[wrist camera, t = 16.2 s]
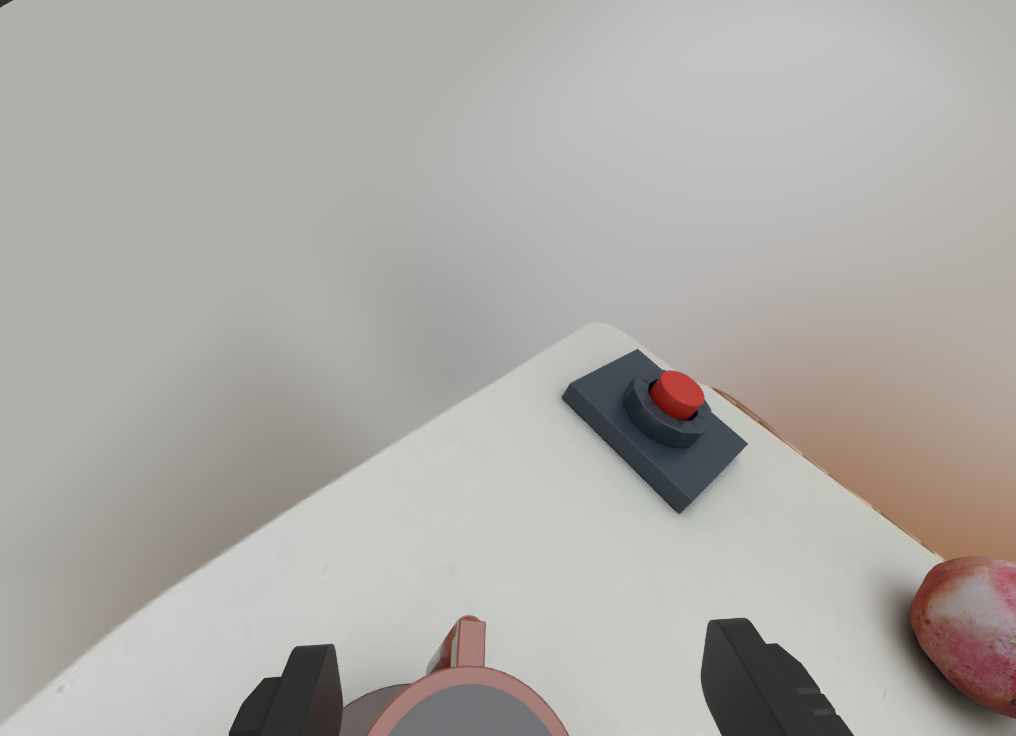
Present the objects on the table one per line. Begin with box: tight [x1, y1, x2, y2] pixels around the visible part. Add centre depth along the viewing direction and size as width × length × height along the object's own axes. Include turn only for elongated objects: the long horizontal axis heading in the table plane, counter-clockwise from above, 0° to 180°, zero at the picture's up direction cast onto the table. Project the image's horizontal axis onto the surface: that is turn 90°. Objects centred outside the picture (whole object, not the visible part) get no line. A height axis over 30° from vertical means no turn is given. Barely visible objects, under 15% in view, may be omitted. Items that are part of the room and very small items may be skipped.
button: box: [650, 371, 704, 420], centre depth 38 cm, size 4×4×2 cm
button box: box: [562, 349, 748, 513], centre depth 39 cm, size 12×10×4 cm
